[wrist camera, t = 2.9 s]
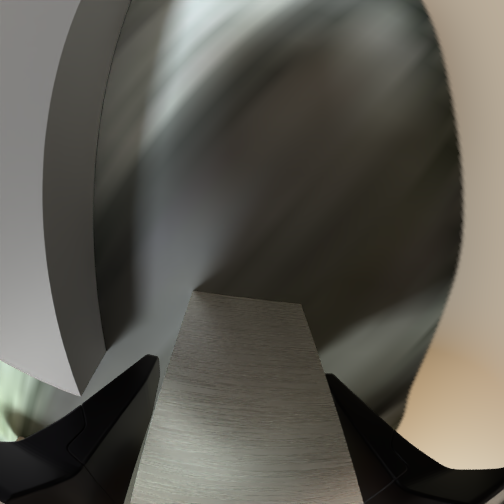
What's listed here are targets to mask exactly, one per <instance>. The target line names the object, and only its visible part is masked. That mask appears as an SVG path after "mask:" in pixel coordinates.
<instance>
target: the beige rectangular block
mask: <svg viewBox="0 0 504 504" xmlns="http://www.w3.org/2000/svg"><path fill="white" fill-rule="evenodd" d="M130 504H364V503H363V499H362V496H361V492H360V488H359V485H358V481H357V478H356V474H355V471H354V467H353V464H352V460H351V457H350V453H349V450H348V447H347V443H346V440H345V437H344V433H343V430H342V427H341V424H340V420H339V417H338V414H337V411H336V407H335V404H334V401H333V398H332V395H331V392H330V389H329V386H328V382H327V379H326V376H325V373H324V370H323V367H322V364H321V361H320V358H319V355H318V352H317V349H316V346H315V343H314V340H313V337H312V334H311V331H310V329H309V326H308V323H307V320H306V317H305V314H304V311H303V308H302V305H301V304H296V303H286V302H277V301H268V300H260V299H252V298H244V297H236V296H228V295H221V294H214V293H207V292H200V291H193V292H192V295H191V298H190V301H189V304H188V307H187V310H186V312H185V315H184V318H183V321H182V324H181V327H180V330H179V333H178V336H177V339H176V342H175V345H174V348H173V352H172V355H171V358H170V361H169V364H168V367H167V371H166V374H165V377H164V380H163V383H162V387H161V390H160V393H159V397H158V400H157V403H156V407H155V410H154V414H153V417H152V421H151V424H150V428H149V432H148V435H147V439H146V442H145V446H144V450H143V454H142V458H141V461H140V465H139V469H138V473H137V477H136V481H135V486H134V490H133V494H132V498H131V503H130Z"/></svg>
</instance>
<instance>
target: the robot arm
mask: <svg viewBox="0 0 504 504" xmlns="http://www.w3.org/2000/svg"><path fill="white" fill-rule="evenodd" d="M325 376H326V379H327V382H328V386H329V389H330V392H331V395H332V398H333V401H334V404H335V407H336V411H337V414H338V417H339V420H340V424H341V427H342V430H343V433H344V437H345V440H346V443H347V447H348V450H349V453H350V457H351V460H352V464H353V467H354V471H355V474H356V478H357V481H358V485H359V488H360V492H361V496H362V499H363V503H364V504H504V467H503V468H499V469H483V470H456V469H450V468H447V467H445V466H443V465H441V464H439V463H438V462H436V461H435V460H433V459H432V458H430V457H429V456H427V455H426V454H424V453H423V452H422V451H420V450H419V449H417V448H416V447H415V446H413V445H412V444H411V443H409V442H408V441H407V440H406V439H404V438H403V437H402V436H401V435H400V434H398V433H397V432H396V431H395V430H393V428H392V427H390V426H389V425H388V424H387V423H386V422H385V421H384V420H383V419H382V418H380V417H379V416H378V415H377V414H376V413H375V412H374V411H373V410H372V409H370V408H369V407H368V406H367V405H366V404H365V403H364V402H363V401H362V400H361V399H359V398H358V397H357V396H356V395H355V394H354V393H353V392H352V391H351V390H350V389H349V388H348V387H347V386H345V385H344V384H343V383H342V382H341V381H340V380H339V379H338V378H337V377H336V376H335V375H334V374H331V373H325ZM159 378H160V367H159V358H158V357H157V356H154V355H149V354H147V355H145V356H144V357H143V358H141V359H140V360H139V361H138V362H136V363H135V364H134V365H132V366H131V367H130V368H128V369H127V370H126V371H125V372H123V373H122V374H121V375H119V376H118V377H117V378H115V379H114V380H113V381H111V382H110V383H109V384H108V385H106V386H105V387H104V388H102V389H101V390H100V391H98V392H97V393H96V394H94V395H93V396H92V397H90V398H89V399H88V400H86V401H85V402H84V403H82V405H80V406H78V407H77V408H76V409H74V410H73V411H71V412H70V413H69V414H67V415H66V416H64V417H63V418H61V419H59V420H58V421H56V422H54V423H53V424H51V425H49V426H47V427H46V428H44V429H42V430H40V431H38V432H36V433H34V434H33V435H31V436H29V437H27V438H25V439H22V440H19V441H15V442H0V504H124V500H125V497H126V494H127V490H128V487H129V484H130V480H131V477H132V474H133V471H134V468H135V464H136V461H137V458H138V455H139V452H140V449H141V446H142V443H143V440H144V437H145V434H146V431H147V428H148V425H149V422H150V419H151V415H152V411H153V407H154V402H155V397H156V392H157V388H158V383H159Z"/></svg>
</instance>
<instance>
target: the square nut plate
mask: <svg viewBox="0 0 504 504" xmlns="http://www.w3.org/2000/svg"><path fill="white" fill-rule="evenodd" d="M130 2H131V0H0V360H1V361H3V362H5V363H7V364H8V365H10V366H12V367H14V368H16V369H18V370H20V371H22V372H24V373H26V374H28V375H30V376H32V377H34V378H36V379H38V380H41V381H43V382H45V383H47V384H50V385H52V386H54V387H57V388H59V389H62V390H64V391H67V392H69V393H72V394H74V395H77V396H80V397H81V396H82V394H83V392H84V390H85V388H86V387H87V385H88V383H89V381H90V379H91V378H92V376H93V374H94V372H95V371H96V369H97V367H98V365H99V364H100V362H101V360H102V358H103V357H104V355H105V353H106V348H105V343H104V337H103V331H102V325H101V318H100V311H99V303H98V295H97V285H96V274H95V260H94V237H93V198H94V176H95V162H96V151H97V141H98V133H99V125H100V119H101V112H102V106H103V100H104V95H105V90H106V85H107V80H108V76H109V71H110V67H111V63H112V59H113V55H114V51H115V48H116V44H117V41H118V38H119V34H120V31H121V28H122V25H123V22H124V19H125V16H126V13H127V10H128V8H129V5H130Z"/></svg>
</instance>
